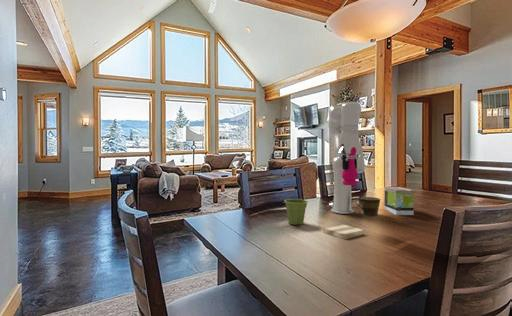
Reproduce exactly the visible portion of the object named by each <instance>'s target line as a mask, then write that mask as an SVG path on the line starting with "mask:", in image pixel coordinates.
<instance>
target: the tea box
mask: <svg viewBox="0 0 512 316" xmlns="http://www.w3.org/2000/svg"><path fill="white" fill-rule="evenodd" d="M414 206H415V190H414V189H409V188H405V187H396V186H395V187H394V186H392V187H391V186H389V187H387V186H386V187H384V210H386V211H387V212H390V213H391V214H393V215H395V216H414V212H415V211H414V209H415V207H414Z"/></svg>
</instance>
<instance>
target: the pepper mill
mask: <svg viewBox="0 0 512 316" xmlns="http://www.w3.org/2000/svg"><path fill="white" fill-rule="evenodd" d="M344 154H346V153H344ZM355 154H356V148H355V147H353V148H352V149H351V154H349V157H348V161H349V169H348V170H347V169H343V171H342V178H343V179H344V181H343V185H351V186H357V185H358V181H357V179H358V177H359V173H357V170H356V168H355V164H354V159H355V156H354V155H355ZM345 157H346V156H345Z"/></svg>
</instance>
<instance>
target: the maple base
mask: <svg viewBox="0 0 512 316" xmlns="http://www.w3.org/2000/svg"><path fill="white" fill-rule="evenodd" d="M322 233H324V234H327V235H329V236H334V237H336V238H340V239H344V240H348V239H351V238H352V239H353V238H356V237H359V236H363V235H365V229H362V228H358V227H354V226H351V225H346V224H342V223H340V224H336V225H331V226H326V227H323V231H322Z"/></svg>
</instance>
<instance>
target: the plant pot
mask: <svg viewBox="0 0 512 316" xmlns="http://www.w3.org/2000/svg"><path fill="white" fill-rule="evenodd" d="M284 202H285V209H286V214H287V221H288V224H290V225H294V226H296V225H299V226H300V225H303V224H304V221H305V216H306V215H305V214H306V208H307V205H308V203H309V200H307V199H306V200H305V199H300V198H299V199H298V198H296V199H295V198H293V199H292V198H291V199H290V198H289V199H284Z"/></svg>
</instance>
